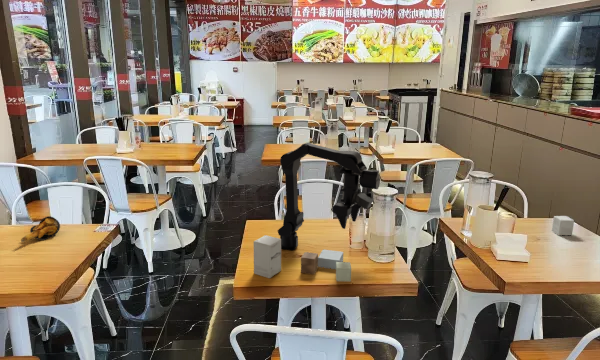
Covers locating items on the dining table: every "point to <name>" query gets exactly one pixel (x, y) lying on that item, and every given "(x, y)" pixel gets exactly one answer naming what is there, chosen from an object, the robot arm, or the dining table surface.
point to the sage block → (343, 271)
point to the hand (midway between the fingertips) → (348, 224)
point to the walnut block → (309, 263)
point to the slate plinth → (329, 258)
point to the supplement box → (267, 256)
